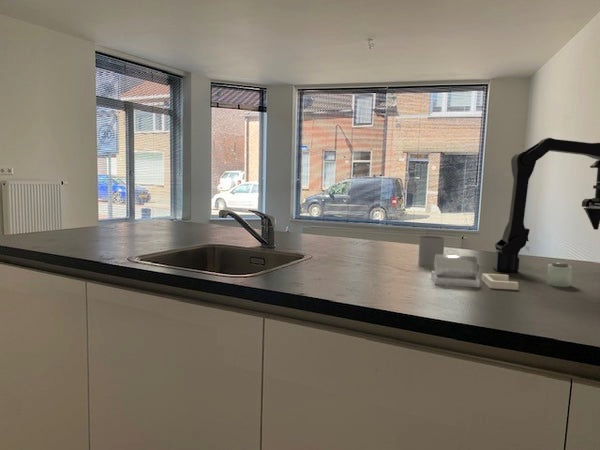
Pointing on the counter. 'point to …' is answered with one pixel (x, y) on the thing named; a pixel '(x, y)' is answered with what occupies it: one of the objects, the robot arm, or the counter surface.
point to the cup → (430, 249)
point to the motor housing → (455, 271)
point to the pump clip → (499, 281)
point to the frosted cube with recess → (559, 274)
